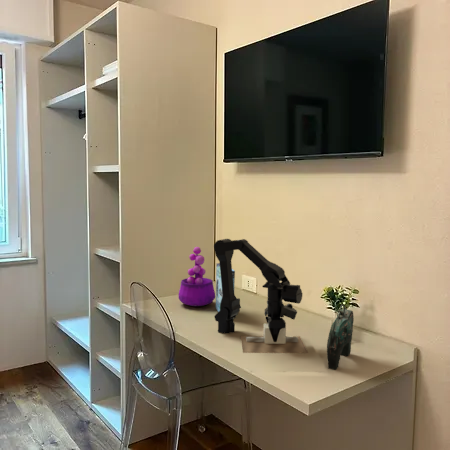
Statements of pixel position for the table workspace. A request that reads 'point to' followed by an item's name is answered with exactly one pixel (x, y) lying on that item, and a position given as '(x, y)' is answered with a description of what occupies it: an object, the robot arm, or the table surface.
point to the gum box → (220, 286)
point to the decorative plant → (196, 284)
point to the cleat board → (272, 345)
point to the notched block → (269, 338)
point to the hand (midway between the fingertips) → (274, 338)
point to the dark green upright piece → (340, 337)
